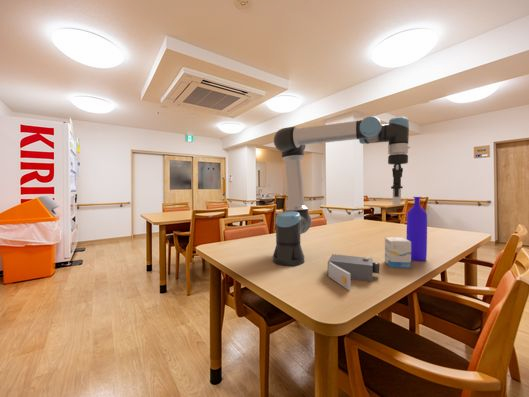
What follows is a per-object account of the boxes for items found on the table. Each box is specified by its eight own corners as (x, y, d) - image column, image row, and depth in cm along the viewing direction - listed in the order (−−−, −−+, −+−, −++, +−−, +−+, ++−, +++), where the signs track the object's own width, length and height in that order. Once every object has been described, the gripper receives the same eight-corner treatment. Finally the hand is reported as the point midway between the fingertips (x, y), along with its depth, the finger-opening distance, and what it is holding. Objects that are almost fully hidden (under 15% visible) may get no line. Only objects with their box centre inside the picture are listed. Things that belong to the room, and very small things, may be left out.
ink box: (411, 268, 101) (412, 241, 101) (390, 267, 103) (390, 240, 102) (404, 262, 110) (404, 237, 109) (384, 261, 111) (384, 236, 111)
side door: (326, 276, 94) (325, 261, 93) (329, 275, 94) (329, 261, 94) (346, 290, 80) (346, 273, 80) (350, 289, 81) (350, 273, 81)
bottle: (427, 262, 108) (428, 197, 107) (406, 259, 113) (406, 197, 111) (426, 257, 115) (427, 196, 114) (406, 255, 120) (407, 196, 118)
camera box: (328, 275, 94) (328, 258, 94) (332, 267, 104) (332, 252, 103) (379, 282, 87) (379, 264, 86) (379, 273, 96) (379, 256, 95)
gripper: (408, 150, 90) (407, 206, 91) (407, 157, 111) (406, 202, 112) (386, 151, 93) (385, 205, 95) (389, 158, 115) (388, 201, 116)
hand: (396, 203), depth 103 cm, fingers open, 13 cm apart
